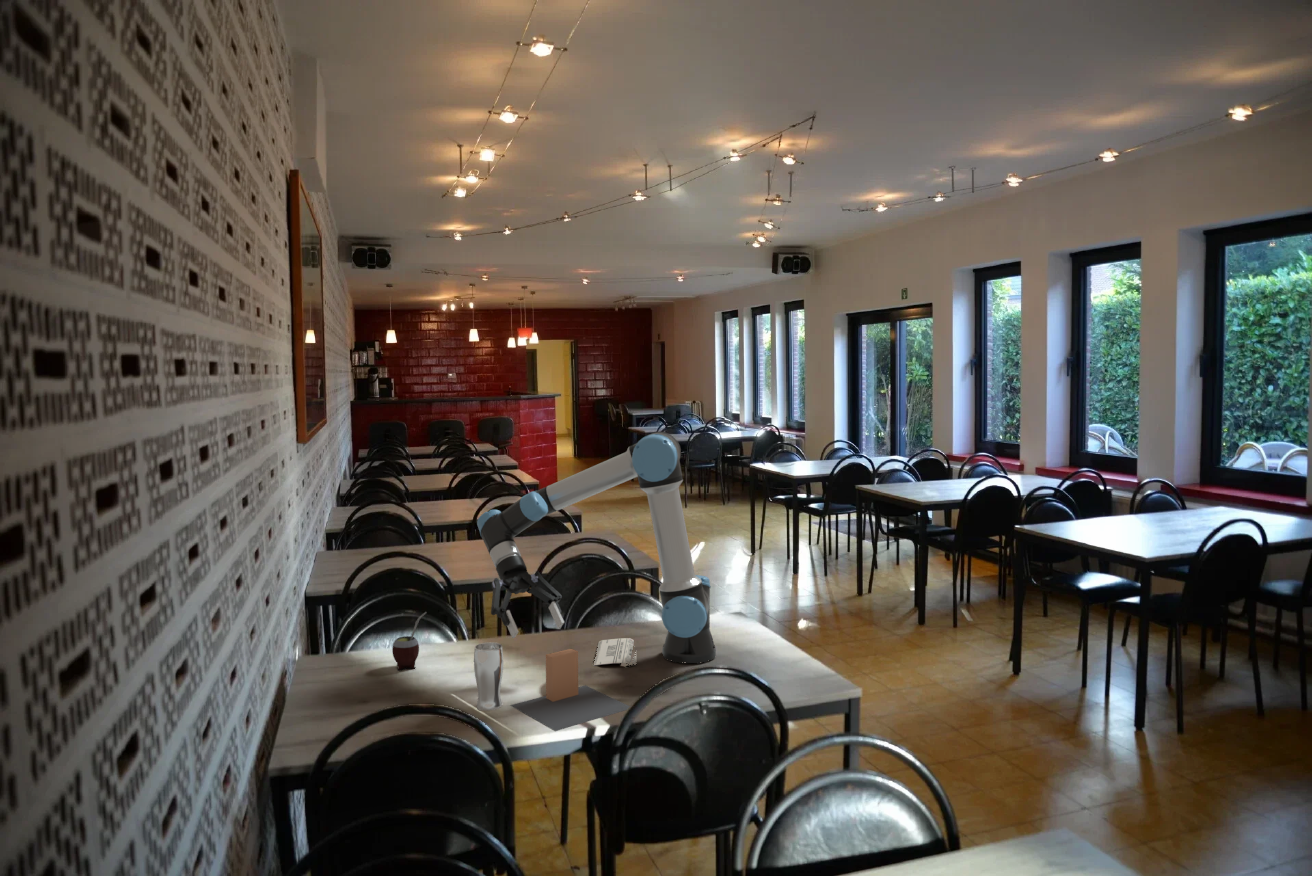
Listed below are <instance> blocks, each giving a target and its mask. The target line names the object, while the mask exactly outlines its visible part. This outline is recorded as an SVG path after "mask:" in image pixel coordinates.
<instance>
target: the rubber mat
mask: <svg viewBox="0 0 1312 876" xmlns="http://www.w3.org/2000/svg"><path fill="white" fill-rule="evenodd" d="M509 706H511V707H512V708H514V709H515V710H518V711H519V712H521V713H523V714H525V715H526V716H528V717H529V718H531V719H533V720H535V721H537V722H539V723H540V724H542V725H544V726H546V728H548V729H551V730H552V731H554V732H557V731H560V730H561V731H562V730H564V729H567V728H571V727H574V726H578V725H580V724H581V725H582V724H585V723H588V722H590V721H595V720H598V719H601V718H604V717H608V716H610V715H611V716H612V715H614V714H617V713H621V712H625V711H627V709H628V708H629V707H631V706H630V705H628V704H626V703H624V702H623V701H619V700H617V699H616V698H613V697H612V696H610V695H607V694H605V693H603V692H600V691H599V690H597V689H594V688H592V687H590V686H588V685H586V684H585V685H584V684H583V685H581V686H578V695H575V696H572V697H568V698H564V699H561V700H557V701H553V702H552V701H551V700H549V699H547V698H546V695H543V696H540V697H536V698H531V699H529V700H524V701H522V702H521V701H520V702H517V703H514V704H510V705H509ZM628 710H629V709H628Z"/></svg>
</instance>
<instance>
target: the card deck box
mask: <svg viewBox="0 0 1312 876" xmlns="http://www.w3.org/2000/svg"><path fill="white" fill-rule="evenodd" d="M578 687H579V651H578V650H575V649H573V648H568V649H564V650H560V651H555V652H552V653H546V654H545V693H546V694H545V696H546V698H547V699H549V700H551V701H552V702H553V701H557V700H561V699H564V698H568V697H572V696H575V695H578Z"/></svg>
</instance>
